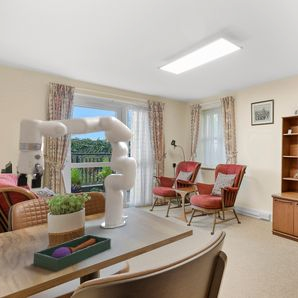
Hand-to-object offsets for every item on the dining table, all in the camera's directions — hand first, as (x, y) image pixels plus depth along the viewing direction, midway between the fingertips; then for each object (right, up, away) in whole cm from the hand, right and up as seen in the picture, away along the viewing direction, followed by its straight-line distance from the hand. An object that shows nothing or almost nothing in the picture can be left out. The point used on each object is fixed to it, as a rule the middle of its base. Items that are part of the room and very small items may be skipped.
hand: (29, 187), depth 99 cm
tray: (+19, -31, +2) cm, 36 cm away
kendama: (+19, -30, +2) cm, 36 cm away
